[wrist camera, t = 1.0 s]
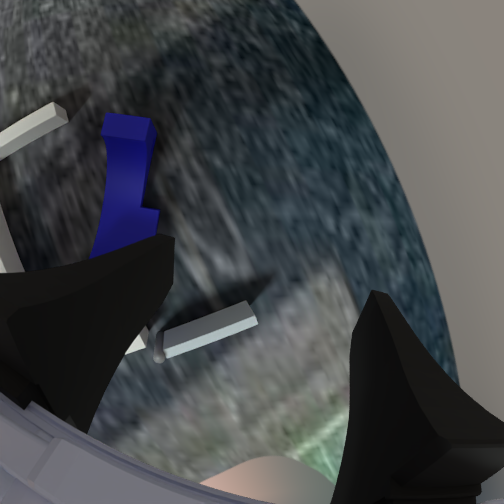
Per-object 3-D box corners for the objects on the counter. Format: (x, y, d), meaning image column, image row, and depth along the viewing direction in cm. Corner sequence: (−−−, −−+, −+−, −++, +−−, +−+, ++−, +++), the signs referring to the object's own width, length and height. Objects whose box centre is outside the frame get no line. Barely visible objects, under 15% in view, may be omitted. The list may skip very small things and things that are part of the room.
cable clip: (149, 280, 26) (141, 305, 20) (98, 272, 25) (78, 294, 19) (175, 136, 24) (173, 122, 19) (122, 128, 23) (106, 112, 18)
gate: (154, 333, 27) (151, 355, 23) (245, 299, 28) (255, 316, 24) (158, 341, 27) (156, 364, 23) (248, 307, 28) (259, 326, 24)
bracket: (59, 362, 25) (50, 378, 23) (-21, 161, 20) (-39, 159, 17) (148, 331, 27) (145, 347, 24) (65, 109, 22) (53, 101, 19)
